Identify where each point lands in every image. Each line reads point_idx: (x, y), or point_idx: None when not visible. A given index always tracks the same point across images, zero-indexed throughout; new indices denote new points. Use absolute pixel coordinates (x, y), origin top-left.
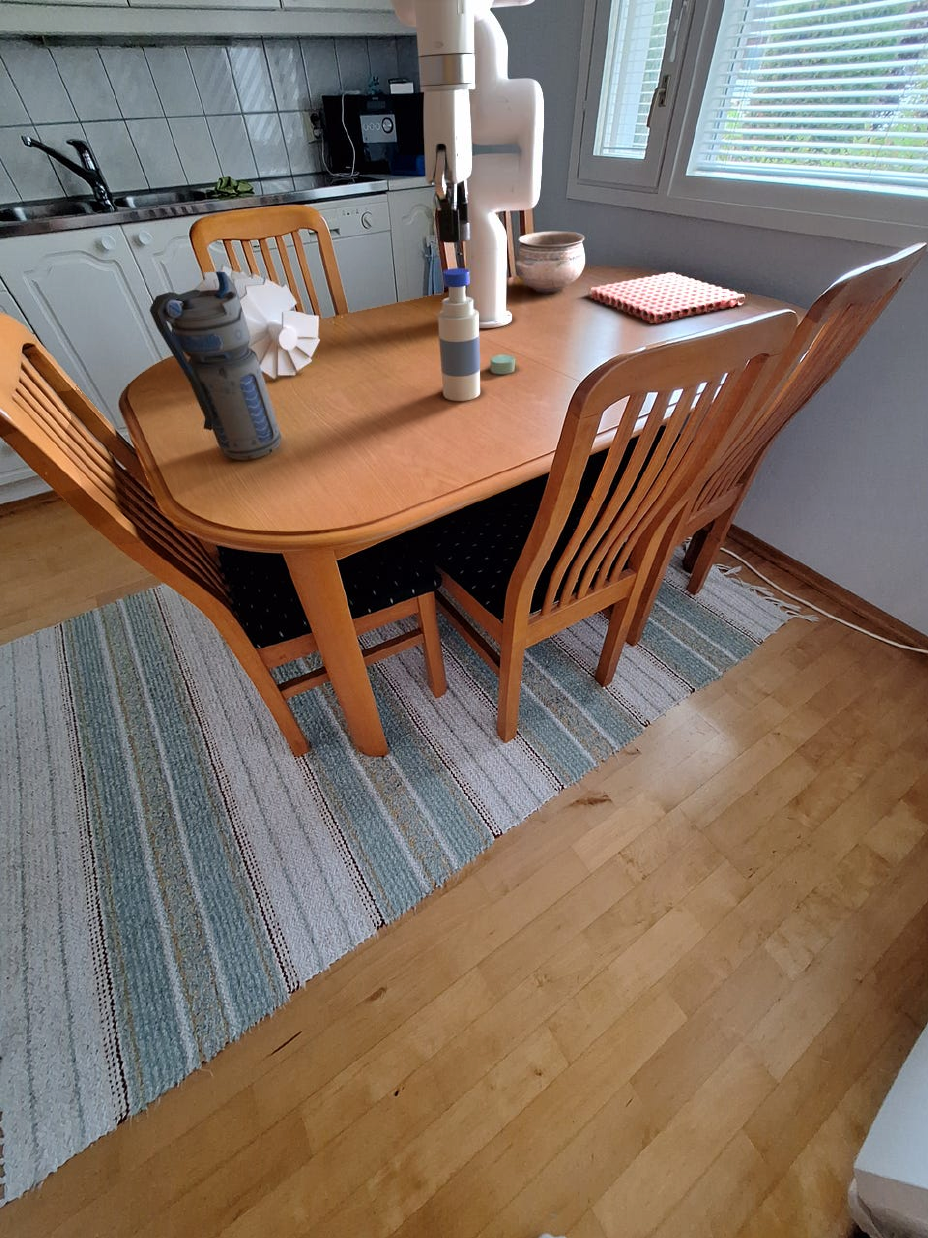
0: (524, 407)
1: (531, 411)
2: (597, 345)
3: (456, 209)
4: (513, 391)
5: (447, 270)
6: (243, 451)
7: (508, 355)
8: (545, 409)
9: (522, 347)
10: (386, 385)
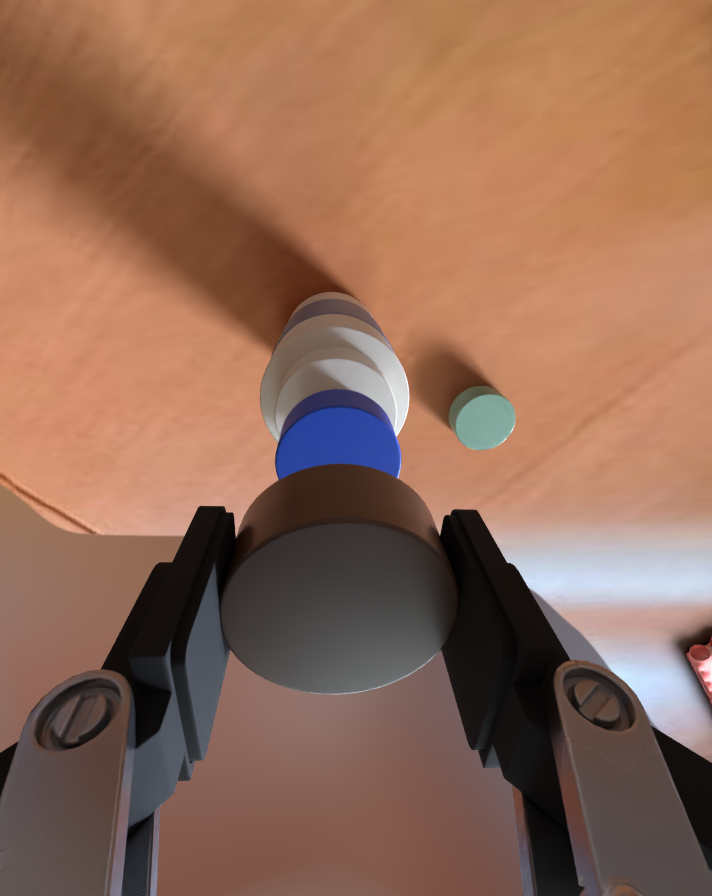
0: None
1: None
2: (593, 574)
3: (184, 767)
4: None
5: (356, 421)
6: None
7: (505, 433)
8: None
9: (615, 437)
10: (367, 76)
